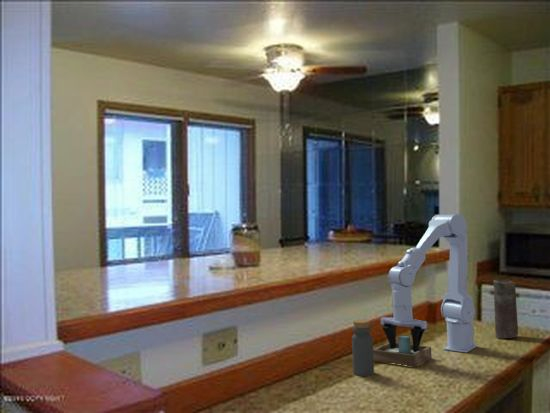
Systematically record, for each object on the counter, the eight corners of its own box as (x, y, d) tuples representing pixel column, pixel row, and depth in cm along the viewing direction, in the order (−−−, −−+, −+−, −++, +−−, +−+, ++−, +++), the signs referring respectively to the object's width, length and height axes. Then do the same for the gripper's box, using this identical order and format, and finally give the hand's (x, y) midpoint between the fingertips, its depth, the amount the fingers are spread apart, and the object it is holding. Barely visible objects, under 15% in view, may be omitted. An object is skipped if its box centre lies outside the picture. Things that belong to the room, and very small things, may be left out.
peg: (396, 360, 174) (395, 337, 174) (403, 357, 177) (402, 335, 177) (407, 362, 172) (405, 339, 172) (413, 359, 174) (412, 337, 174)
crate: (390, 352, 184) (390, 341, 184) (431, 358, 175) (431, 346, 175) (372, 361, 174) (371, 349, 174) (414, 367, 166) (413, 355, 166)
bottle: (361, 369, 167) (359, 318, 167) (378, 372, 163) (375, 320, 163) (349, 373, 163) (346, 321, 163) (365, 377, 158) (363, 323, 159)
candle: (498, 334, 203) (496, 278, 203) (520, 336, 198) (518, 278, 198) (493, 338, 196) (490, 280, 197) (515, 340, 192) (512, 281, 192)
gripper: (375, 305, 176) (377, 349, 176) (418, 309, 166) (421, 355, 166) (386, 302, 181) (388, 344, 181) (428, 305, 172) (431, 350, 172)
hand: (404, 349), depth 174 cm, fingers open, 7 cm apart
